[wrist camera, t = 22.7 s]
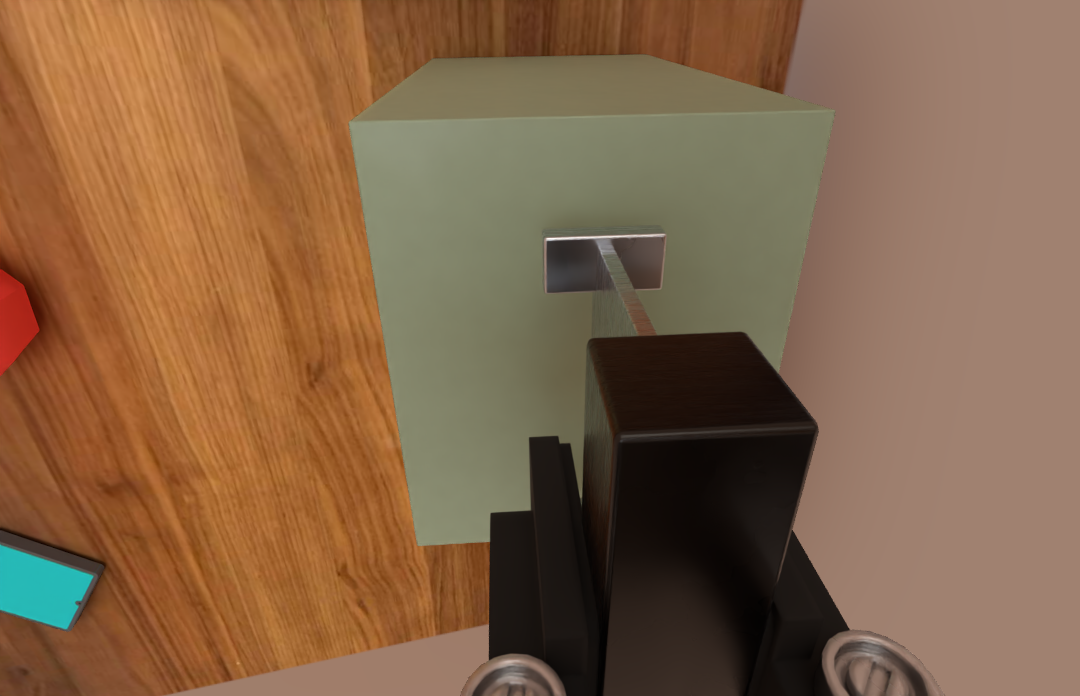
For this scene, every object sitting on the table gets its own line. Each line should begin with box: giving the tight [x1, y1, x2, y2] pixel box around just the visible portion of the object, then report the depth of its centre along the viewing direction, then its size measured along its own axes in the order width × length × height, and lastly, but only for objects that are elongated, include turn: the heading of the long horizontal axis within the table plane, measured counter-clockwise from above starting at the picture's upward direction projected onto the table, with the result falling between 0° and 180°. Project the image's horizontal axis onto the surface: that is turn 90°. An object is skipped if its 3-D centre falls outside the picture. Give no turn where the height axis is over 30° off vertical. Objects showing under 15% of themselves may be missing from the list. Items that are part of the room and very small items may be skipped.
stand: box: [349, 54, 835, 546], centre depth 23 cm, size 10×12×18 cm
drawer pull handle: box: [541, 225, 819, 696], centre depth 11 cm, size 2×9×7 cm, turn 1°
